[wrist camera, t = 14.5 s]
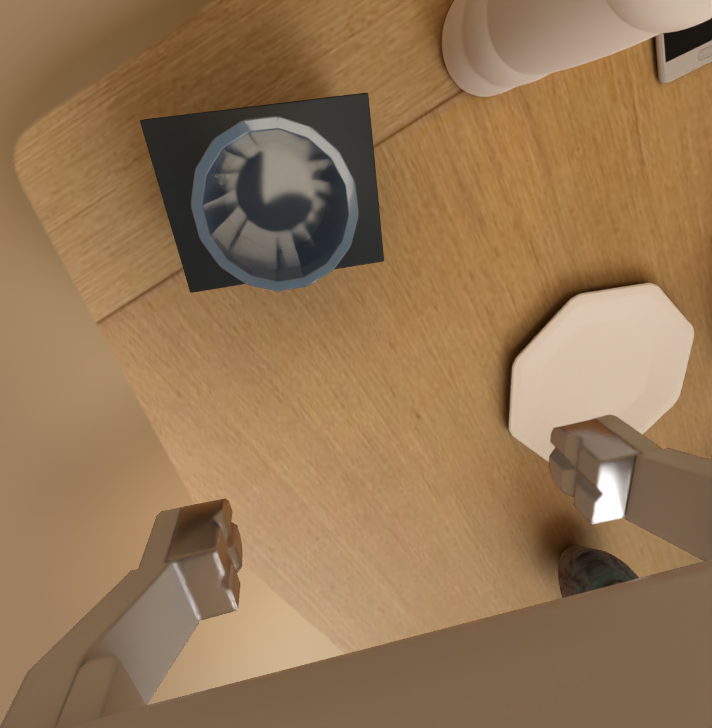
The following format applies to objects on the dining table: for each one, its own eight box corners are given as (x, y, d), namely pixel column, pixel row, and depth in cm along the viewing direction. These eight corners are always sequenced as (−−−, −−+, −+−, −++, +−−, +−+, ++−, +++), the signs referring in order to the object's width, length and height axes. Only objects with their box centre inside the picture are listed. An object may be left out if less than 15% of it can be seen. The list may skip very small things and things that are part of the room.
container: (207, 267, 34) (190, 293, 27) (170, 132, 30) (139, 119, 23) (362, 243, 36) (384, 261, 29) (346, 110, 32) (368, 92, 25)
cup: (233, 262, 27) (216, 301, 19) (204, 143, 24) (169, 128, 16) (338, 246, 28) (366, 277, 20) (322, 128, 25) (346, 106, 17)
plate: (709, 354, 47) (722, 360, 46) (577, 480, 51) (585, 489, 50) (611, 241, 40) (623, 243, 38) (466, 399, 44) (472, 406, 42)
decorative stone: (515, 525, 53) (642, 710, 35) (582, 490, 52) (745, 659, 34) (558, 615, 62) (676, 798, 44) (616, 585, 61) (759, 758, 43)
